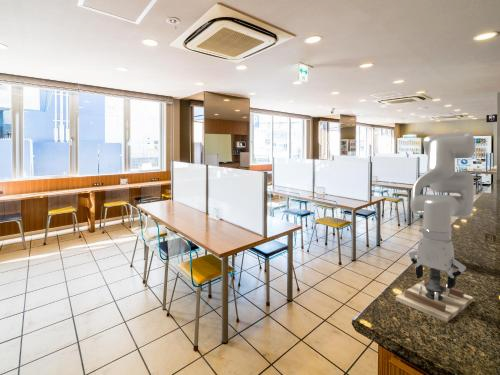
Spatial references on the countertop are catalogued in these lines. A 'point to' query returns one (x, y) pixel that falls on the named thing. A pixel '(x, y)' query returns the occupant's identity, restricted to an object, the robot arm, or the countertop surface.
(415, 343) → the countertop surface
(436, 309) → the pin stand
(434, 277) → the weathered chess pawn
